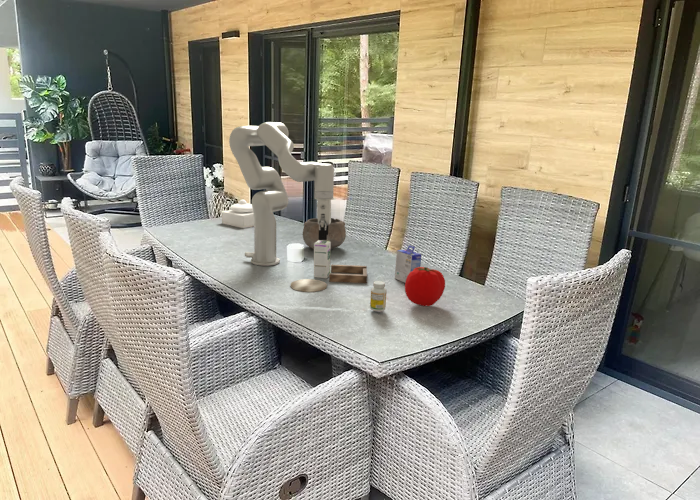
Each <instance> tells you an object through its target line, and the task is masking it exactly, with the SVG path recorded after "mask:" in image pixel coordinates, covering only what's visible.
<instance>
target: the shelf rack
mask: <svg viewBox="0 0 700 500" xmlns="http://www.w3.org/2000/svg"><path fill="white" fill-rule="evenodd" d="M367 268H368V267H367V265H350V264H330V274H329V276H328V278H329V279H328V282H332V283H352V284H353V283H356V284H367V281H368V271H367Z"/></svg>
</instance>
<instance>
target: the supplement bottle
mask: <svg viewBox="0 0 700 500" xmlns="http://www.w3.org/2000/svg"><path fill="white" fill-rule="evenodd" d="M372 286H373V287H372V288H371V289H370V300H369V301H370V303H369V304H370V306H369V307H370V310H371V311H373V312H385V310H386V305H387V289H386V282H385V281H381V280H375V281H373V285H372Z"/></svg>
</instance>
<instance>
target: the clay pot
mask: <svg viewBox="0 0 700 500" xmlns="http://www.w3.org/2000/svg"><path fill="white" fill-rule="evenodd" d="M345 225H346V223H345V222H344V221H343V220H341V219H338V218H334V217H331V223H330V224H329V225H328V235H327V240H325V241H330V242H331V250H334V249H335V248H338V247H340V246H342V245H343V243H344V242H345V240H346V237H347V231H346V227H345ZM302 229H303V230H302V239H303V241H304V243H305V245H306V246H308V247H309V248H310V249H312V250H314V243H315V242H317V241H318V240H319V224H318V217H316V218H310V219H307V221H305V222H304V223H303V228H302Z"/></svg>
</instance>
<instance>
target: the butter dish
mask: <svg viewBox="0 0 700 500" xmlns="http://www.w3.org/2000/svg"><path fill="white" fill-rule="evenodd" d="M220 213H221V224H223V225H228V226H232V227H236V228H241V229H246V228H251V227H254V213H253V208H252V203H248V202H247V201H246V199H244V198H243V199H240V200H239V201H238V203H234V204H232V205H231V206H230V207H229V210H222V211H220Z"/></svg>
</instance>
